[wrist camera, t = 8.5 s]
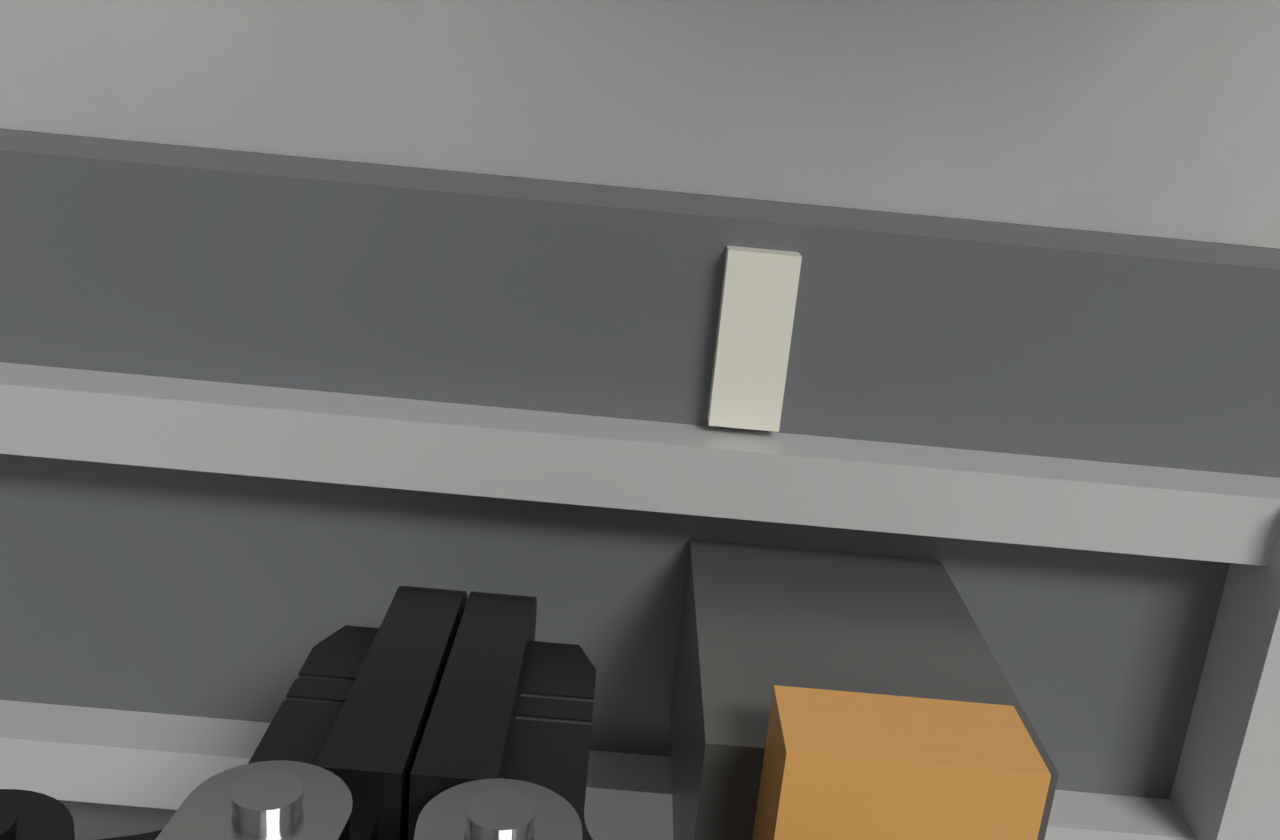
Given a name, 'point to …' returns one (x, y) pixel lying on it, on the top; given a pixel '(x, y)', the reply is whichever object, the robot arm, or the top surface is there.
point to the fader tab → (843, 705)
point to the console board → (614, 457)
